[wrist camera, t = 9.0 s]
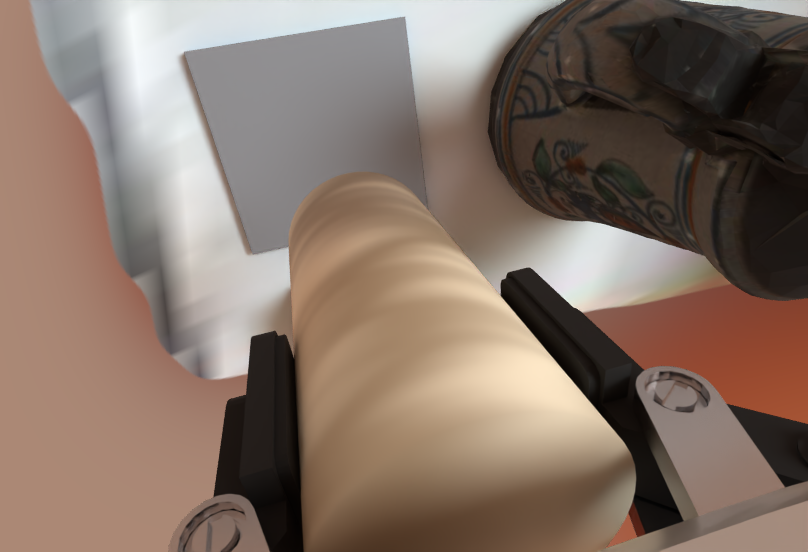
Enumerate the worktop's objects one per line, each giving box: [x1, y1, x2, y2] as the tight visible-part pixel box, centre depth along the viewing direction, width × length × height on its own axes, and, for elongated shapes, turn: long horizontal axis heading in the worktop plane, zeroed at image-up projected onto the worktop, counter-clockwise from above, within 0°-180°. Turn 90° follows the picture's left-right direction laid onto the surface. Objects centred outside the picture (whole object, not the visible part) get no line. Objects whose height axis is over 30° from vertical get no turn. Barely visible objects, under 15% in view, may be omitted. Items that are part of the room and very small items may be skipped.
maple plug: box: [288, 172, 636, 552], centre depth 12 cm, size 5×5×12 cm
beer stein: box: [488, 0, 808, 301], centre depth 25 cm, size 16×19×25 cm
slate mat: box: [184, 17, 428, 254], centre depth 33 cm, size 14×14×1 cm
